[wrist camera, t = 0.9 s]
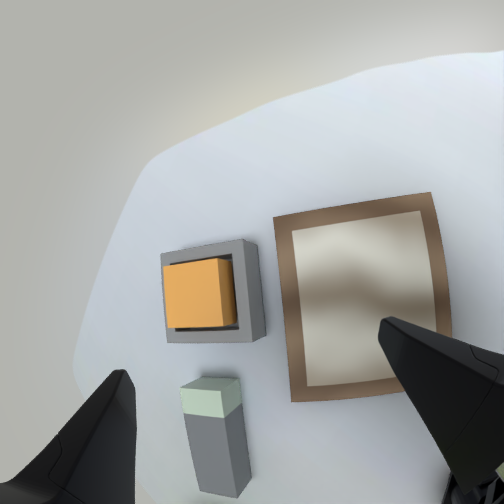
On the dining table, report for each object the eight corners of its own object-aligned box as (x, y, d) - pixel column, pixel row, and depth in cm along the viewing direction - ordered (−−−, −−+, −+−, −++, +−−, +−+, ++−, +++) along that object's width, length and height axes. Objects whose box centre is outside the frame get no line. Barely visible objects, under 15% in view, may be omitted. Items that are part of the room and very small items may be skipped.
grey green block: (251, 477, 23) (237, 498, 19) (217, 472, 24) (200, 490, 20) (239, 378, 25) (220, 391, 21) (201, 377, 26) (179, 387, 22)
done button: (237, 322, 23) (223, 326, 20) (184, 325, 24) (167, 327, 22) (231, 261, 24) (217, 258, 21) (180, 269, 25) (163, 266, 23)
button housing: (266, 335, 24) (252, 342, 21) (188, 338, 27) (167, 342, 24) (256, 245, 26) (242, 238, 23) (181, 258, 28) (160, 253, 25)
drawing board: (447, 377, 18) (451, 381, 17) (293, 398, 23) (290, 402, 22) (428, 195, 21) (431, 191, 20) (276, 220, 26) (272, 216, 24)
